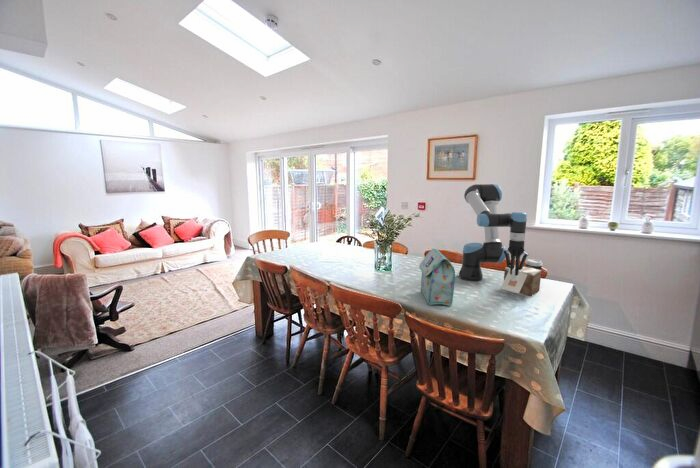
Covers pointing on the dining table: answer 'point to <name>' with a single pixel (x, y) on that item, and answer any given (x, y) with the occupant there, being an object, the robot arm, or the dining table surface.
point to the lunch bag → (437, 278)
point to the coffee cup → (534, 264)
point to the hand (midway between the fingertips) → (513, 280)
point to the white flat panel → (513, 283)
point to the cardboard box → (529, 280)
